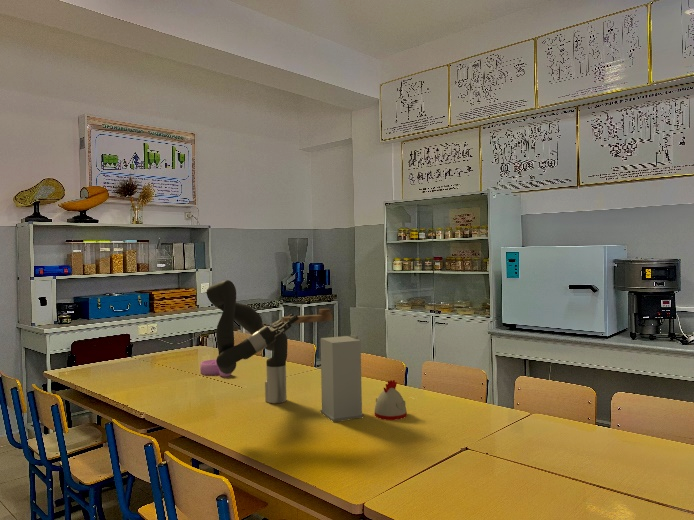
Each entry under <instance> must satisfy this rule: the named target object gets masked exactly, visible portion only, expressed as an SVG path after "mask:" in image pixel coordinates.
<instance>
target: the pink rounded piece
mask: <svg viewBox="0 0 694 520" xmlns="http://www.w3.org/2000/svg"><path fill="white" fill-rule="evenodd" d="M216 359H217V358H216ZM216 359H215V358H213V359H207V360H206V359H205V360H203V361H200V364H199V365H200V369H199V371H200V374H201V375H204V376H218V375H219V376H220V377H222V378H225V377H230V376H232V373H233V372H232V373H230V374H224V373H222V372H221V371H220V369H219V367H218V365H217V363H216Z"/></svg>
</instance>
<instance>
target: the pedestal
mask: <svg viewBox="0 0 694 520" xmlns="http://www.w3.org/2000/svg"><path fill="white" fill-rule="evenodd" d="M361 342H362V341H361V339H359V337H358V335H355V334H349V335H342V336H331V337H321V338H320V373H321V374H320V376H321V377H320V378H321V379H320V380H321V382H320V383H321V384H320V385H321V409H320V410H319V412H321V413H320V414H321V415H323V414H324V415H325V416H324V415H323V416H324V417H326V418H327V417H328V418H329V419H330V420H329V419H328V418H327V419H328V420H329V421H331V420H332V421H333V422H332V421H331V422H332V423H335V422H334V421H338V422H343V421H342V420H345V421H349V420H348V419H351V420H355V419H354V418H358V419H363V418H362V417H365V416H364V414H363V399H362V398H363V397H362V394H363V393H362V389H363V387H362V346H361V345H362V343H361Z"/></svg>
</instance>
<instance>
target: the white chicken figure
mask: <svg viewBox="0 0 694 520" xmlns="http://www.w3.org/2000/svg"><path fill="white" fill-rule="evenodd" d="M397 384H398V382H397V381H395V379H392V380H387V383H385V387H383V390H382V391H381V392H380V393H379V395H378V396H377V398H375V405H374V417H375V416H376V417H375V418H377V417H378V418H377V419H379V418H381V419H380V420H384V419H386V420H385V421H396V420H395V419H398V420H401V418H402V419H404V417H405V418H406V417H407V416H408V415H407V413H408V412H407V406H406V401H405V400H404V398H403V396H402V395H401V393H400V392H399V391H398V390H397V389H396V388H397ZM406 415H407V416H406Z"/></svg>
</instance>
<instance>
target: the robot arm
mask: <svg viewBox="0 0 694 520" xmlns="http://www.w3.org/2000/svg"><path fill="white" fill-rule="evenodd" d="M206 296H207V298H208V301H209V302H211V304H212V305H213V306H214V307H216V308H217V309H219V310H221V311H222V313H221V316H220V318H219V321H218V323H217V326H216V330H215V335H216V336H215V337H216V347H217V349H218V355H217V357H216V363H217V365H218V367H219V369H220V371H221V372H222V373H224V374H230V373H234V371H235V370H236V367H237V363H238V362H240V361H241V360H248V359H250V358H251V357H253V356H254V355H256V354H257V353H259V352H261V351H262V350H264V349H265V350H268V351H271V352H273V356H272V357H269V358H267V359H266V380H265V382H264V391H265V392H264V394H265V395H264V396H265V402H266V403H267V402H268V403H269V404H281V403H285V402H287V359H288V346H289V345H288V336H287V334H286V331H287V330H289V329H291V328H292V326H293V325H292V324H295V323H294V322H295V321H297V320H298V319H299V318H298V316H299V315H297V314H294V313H291V314H288V316H287V317H289V316H293V317H291V318H290V319H288V320H286V321H285V322H282V318H280V319H278V320H277V321H274V322H273V323H271V324H270V325H269V326H270V327H268V326H267V325H264V324H263V320H262V316H261V315H260V314H259V313H258V312H257V311H256V310H255V309H254V308H253V307H251V306H249V305H246V304H243V303H239V302H237V289H236V285H235V284H234V283H233V282H232V281H231V280H229V279H225V280H222V281H220V282H219V281H218V282H217V283H215V284H213V285H211V286H209V287H208V288H207V289H206ZM235 322H236V323H237V324H238V325H240V326H241V327H242V328H243V329H244V330H245V331H247V332H248V333H249V334H250V335H249V336H248V337H247V338H246V339H244V340H243V341H241V342H240V343H238V344H236V345H235V330H234V323H235Z"/></svg>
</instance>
